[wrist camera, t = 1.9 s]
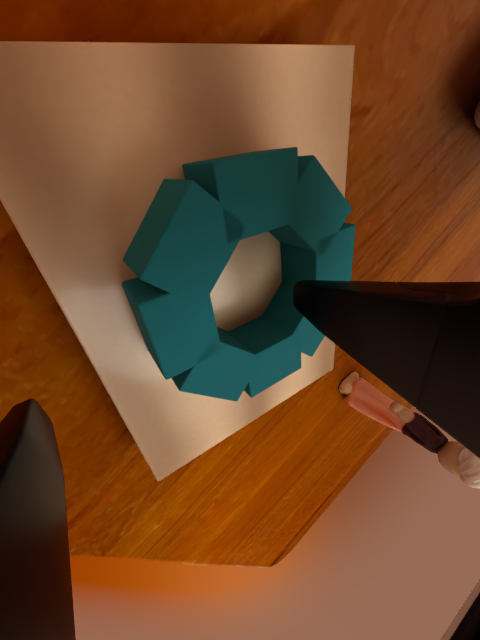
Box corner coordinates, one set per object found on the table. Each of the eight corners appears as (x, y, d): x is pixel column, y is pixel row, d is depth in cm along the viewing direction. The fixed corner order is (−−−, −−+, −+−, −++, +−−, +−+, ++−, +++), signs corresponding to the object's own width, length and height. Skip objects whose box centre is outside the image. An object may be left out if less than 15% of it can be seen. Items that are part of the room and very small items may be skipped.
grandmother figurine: (327, 396, 28) (469, 507, 19) (346, 364, 28) (502, 462, 19) (357, 404, 33) (482, 495, 24) (375, 377, 33) (508, 459, 24)
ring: (168, 402, 14) (187, 437, 12) (80, 182, 8) (90, 184, 7) (314, 324, 17) (345, 341, 16) (317, 140, 12) (364, 134, 10)
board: (143, 443, 18) (157, 482, 15) (-54, 76, 8) (-91, 38, 6) (305, 350, 23) (333, 369, 21) (303, 65, 14) (355, 44, 11)
